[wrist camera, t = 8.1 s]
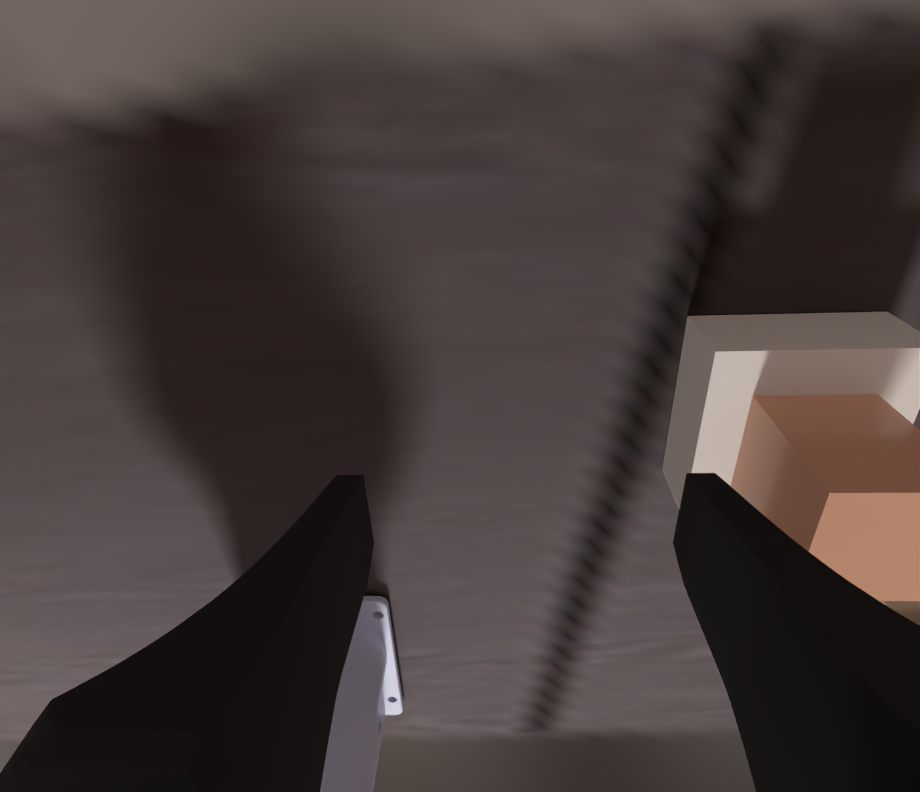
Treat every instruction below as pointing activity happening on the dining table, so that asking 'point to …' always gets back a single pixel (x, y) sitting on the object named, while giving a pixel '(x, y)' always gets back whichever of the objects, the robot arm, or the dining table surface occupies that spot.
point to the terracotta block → (839, 484)
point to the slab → (778, 376)
